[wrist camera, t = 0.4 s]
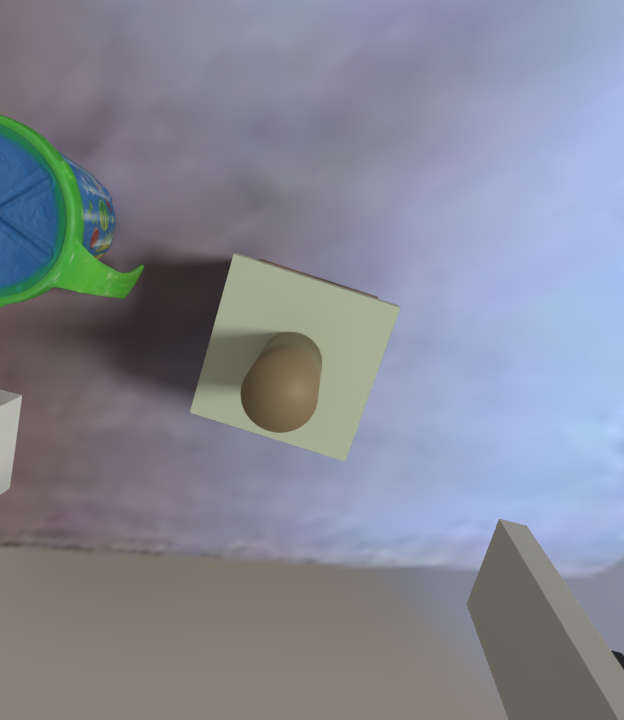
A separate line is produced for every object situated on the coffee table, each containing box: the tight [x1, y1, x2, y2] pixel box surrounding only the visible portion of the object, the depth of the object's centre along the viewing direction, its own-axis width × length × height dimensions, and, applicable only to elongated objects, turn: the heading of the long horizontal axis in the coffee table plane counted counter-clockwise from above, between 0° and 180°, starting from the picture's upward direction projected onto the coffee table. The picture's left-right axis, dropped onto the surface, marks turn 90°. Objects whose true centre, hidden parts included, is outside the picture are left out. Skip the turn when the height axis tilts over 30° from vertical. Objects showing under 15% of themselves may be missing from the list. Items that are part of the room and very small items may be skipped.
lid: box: [190, 253, 400, 461], centre depth 28 cm, size 10×10×8 cm
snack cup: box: [0, 115, 144, 307], centre depth 34 cm, size 16×10×10 cm
